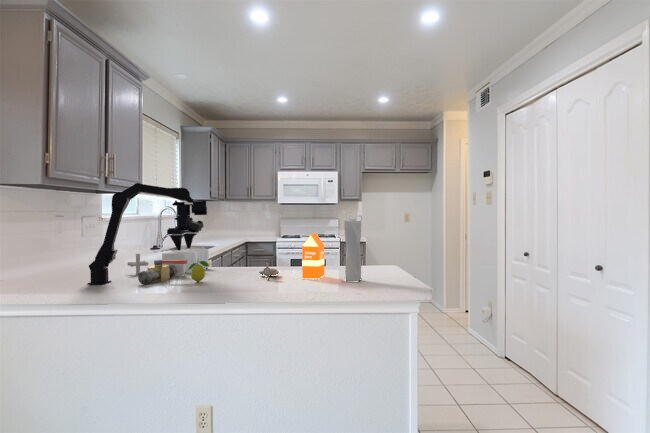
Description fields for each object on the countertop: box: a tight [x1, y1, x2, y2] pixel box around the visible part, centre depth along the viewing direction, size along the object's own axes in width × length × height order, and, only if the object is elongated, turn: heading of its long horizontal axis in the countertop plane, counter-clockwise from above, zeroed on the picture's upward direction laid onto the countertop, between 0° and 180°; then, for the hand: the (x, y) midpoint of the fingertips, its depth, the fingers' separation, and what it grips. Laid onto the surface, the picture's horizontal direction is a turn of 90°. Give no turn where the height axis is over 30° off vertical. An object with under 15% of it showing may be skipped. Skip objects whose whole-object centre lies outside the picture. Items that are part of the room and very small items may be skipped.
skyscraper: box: [343, 214, 363, 283], centre depth 152 cm, size 8×8×28 cm
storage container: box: [161, 248, 209, 277], centre depth 182 cm, size 25×11×11 cm, turn 171°
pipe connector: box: [127, 253, 149, 275], centre depth 177 cm, size 10×10×10 cm
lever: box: [153, 259, 187, 265], centre depth 157 cm, size 15×4×2 cm, turn 84°
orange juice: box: [301, 233, 325, 278], centre depth 159 cm, size 8×9×20 cm
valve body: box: [137, 264, 177, 286], centre depth 157 cm, size 20×6×7 cm, turn 174°
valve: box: [258, 262, 280, 279], centre depth 162 cm, size 8×12×10 cm
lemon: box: [189, 261, 210, 283], centre depth 152 cm, size 7×6×10 cm
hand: (184, 249), depth 163 cm, fingers open, 9 cm apart
